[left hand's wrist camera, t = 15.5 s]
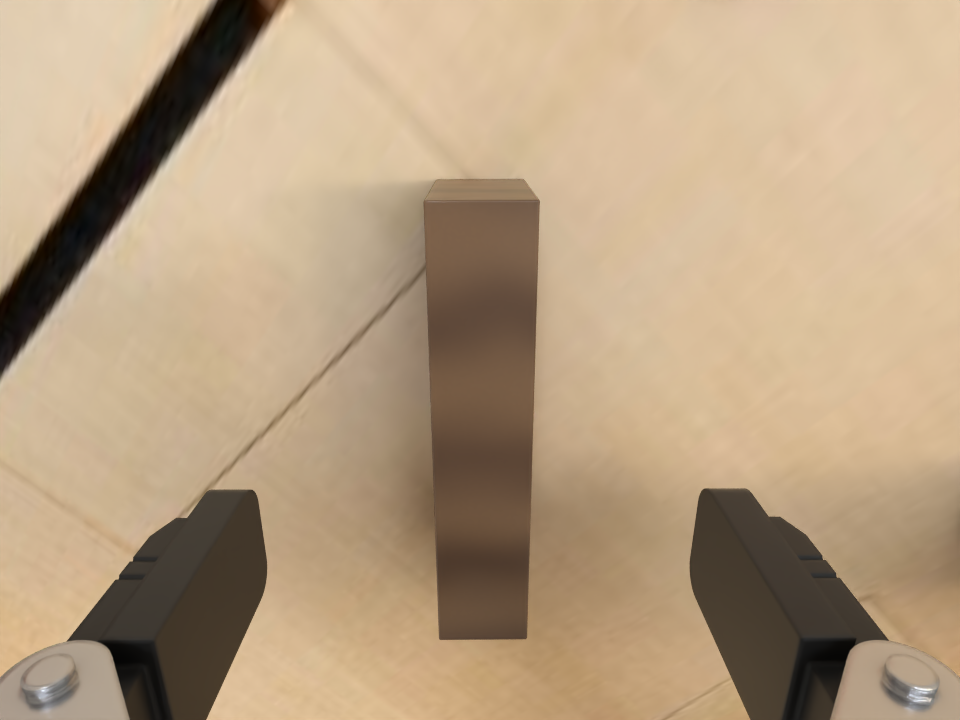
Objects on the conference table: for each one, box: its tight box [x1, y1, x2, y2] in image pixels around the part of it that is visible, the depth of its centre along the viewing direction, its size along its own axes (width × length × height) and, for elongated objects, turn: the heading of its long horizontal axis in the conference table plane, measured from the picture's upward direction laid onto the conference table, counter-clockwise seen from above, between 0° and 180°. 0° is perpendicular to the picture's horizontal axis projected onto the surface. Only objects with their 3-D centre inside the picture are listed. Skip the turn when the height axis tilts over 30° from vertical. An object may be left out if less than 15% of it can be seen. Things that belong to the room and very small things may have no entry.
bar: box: [424, 179, 540, 640], centre depth 33 cm, size 22×5×8 cm, turn 0°
